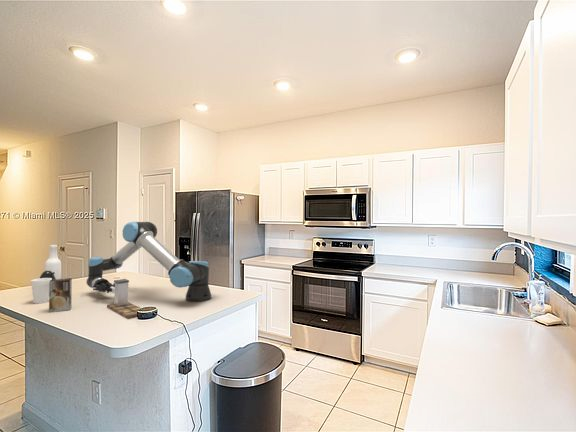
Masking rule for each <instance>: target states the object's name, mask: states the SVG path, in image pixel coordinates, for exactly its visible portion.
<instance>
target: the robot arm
mask: <svg viewBox="0 0 576 432" xmlns="http://www.w3.org/2000/svg"><path fill="white" fill-rule="evenodd" d="M157 235H158V228H157V226H156V225H155V224H154V223H153V222H152V221H151V222H150V221H130V222H129V221H128V222H127V223H126V224H125V225H124V226H123V228H122V238H123V239H124V241H125V242H127V243H126V244H125V245H124V246H123V247H122V248H120V249H119V250H118V251H117V252H116V253H114V255H112V256H111V257H109V258H103V257H102V256H94V257H92V256H91V257H89V259H88V277H87V278H86V285H87V286H88V287H89V288H91V289H92V291H98V292H102V293H105V292H106V293H108V294H109V293H113V294H115V283H114V282H113V283H111V282H110V281H109V280H108V279H106V278H103V272H105V271H109V270H110V271H111V270H117V269H120V268H121V267H122V266H123V264H124V262H125V261H126V260H129V258H130V257H131V256H133V255H134V254H135V253H136V252H138V250H140V249H141V248H143V249H144V250H145V251H146V252H147V253H148V254H149V255H150V256H152V258H153V259H154V260H156V261H157V262H158V263H159V264H160V265H162V267H163V268H164V269H166V270H167V271H168V272H167V275H168V277H169V282H170V283H171V284H172V286H174V287H176V288H180V289H181V288H187V287H188V288H187V290H186V293H185V300H186V301H187V302H195V303H196V302H205V301H209V300H211V299H212V293H211V289H210V287H209V281H210V280H209V278H210V276H209V275H210V272H209V270H210V266H209V265H210V264H209V262H208V261H205V260H204V261H203V260H202V261H200V260H190V261H189V262H187V261H185V260H184V259H180V258H178V257H177V256H176V255H175V254H173V253H172V252H171V251H170V250H169V249H168V248H167V247H165V246H166V245H164V244H162V243H161V242H160V241H159V240H158V239H157V238H156V237H157Z"/></svg>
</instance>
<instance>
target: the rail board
mask: <svg viewBox="0 0 576 432" xmlns="http://www.w3.org/2000/svg"><path fill="white" fill-rule="evenodd" d="M106 308H107V309H109V310H111V311H112V312H114V313H117V314H118V315H120V316H121V317H123V318H125V319H126V320H130V319H134V318H138V317H137V312H138V310H140V309H143V308H142V307H140V306H138V305H136V304H133V303H131V302H129V301H128V304H127V305H122V306H116V305H114V303H108V304H106Z"/></svg>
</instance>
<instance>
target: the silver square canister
mask: <svg viewBox="0 0 576 432" xmlns="http://www.w3.org/2000/svg"><path fill="white" fill-rule="evenodd" d="M113 283H115V293H114V302H113V304H114V305H116V306H122V305H127V304H128V302H129V283H130V280H129V279H127V278H121V279H115V280H114V281H113Z"/></svg>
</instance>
